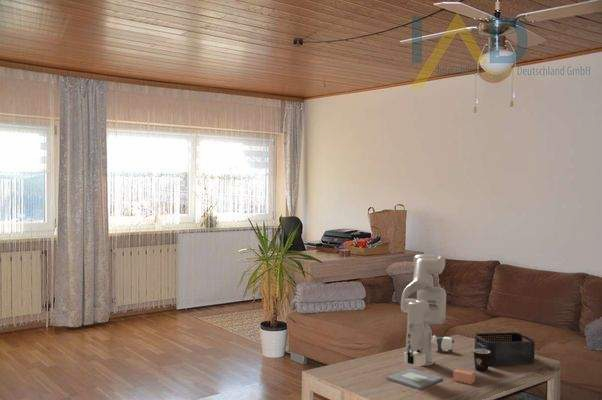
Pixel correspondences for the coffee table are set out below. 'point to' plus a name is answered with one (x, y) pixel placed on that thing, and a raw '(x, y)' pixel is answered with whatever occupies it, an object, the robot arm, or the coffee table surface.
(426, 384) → the build board
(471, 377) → the terracotta block
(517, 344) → the storage bin
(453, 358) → the coffee table surface
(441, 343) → the giant panda
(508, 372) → the coffee table surface
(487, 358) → the coffee mug
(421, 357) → the cream block
